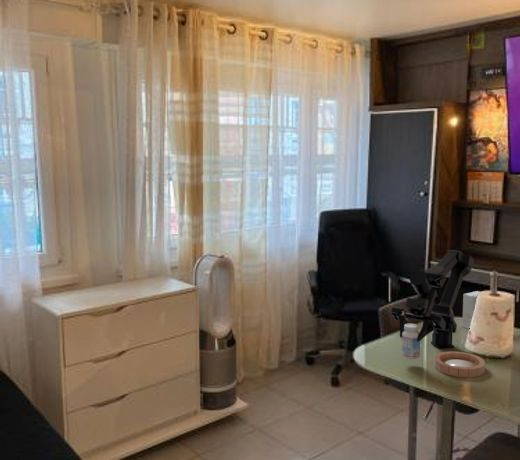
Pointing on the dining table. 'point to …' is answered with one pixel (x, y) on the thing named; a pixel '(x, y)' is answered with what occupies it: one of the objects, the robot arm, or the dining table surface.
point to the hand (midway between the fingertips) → (409, 339)
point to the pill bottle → (410, 341)
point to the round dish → (459, 364)
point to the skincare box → (468, 307)
